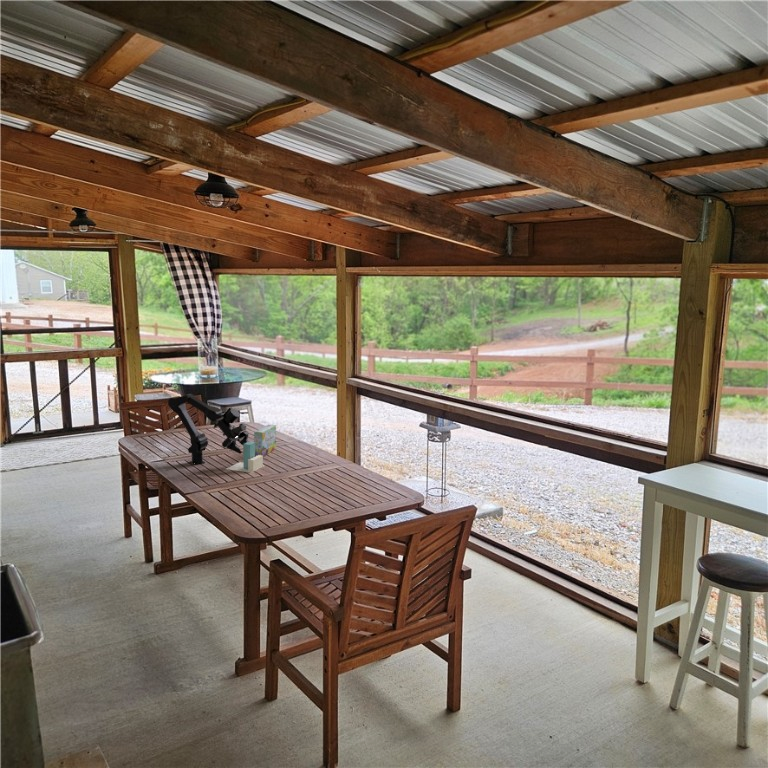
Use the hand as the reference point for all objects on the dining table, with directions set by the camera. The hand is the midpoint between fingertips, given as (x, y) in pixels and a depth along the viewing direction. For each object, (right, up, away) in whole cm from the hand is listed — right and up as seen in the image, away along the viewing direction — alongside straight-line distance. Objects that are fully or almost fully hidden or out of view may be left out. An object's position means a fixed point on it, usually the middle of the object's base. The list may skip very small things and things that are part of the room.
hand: (245, 451), depth 333 cm
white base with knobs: (-1, -10, +2) cm, 10 cm away
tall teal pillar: (+2, -9, +1) cm, 9 cm away
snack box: (+4, -5, +34) cm, 35 cm away
